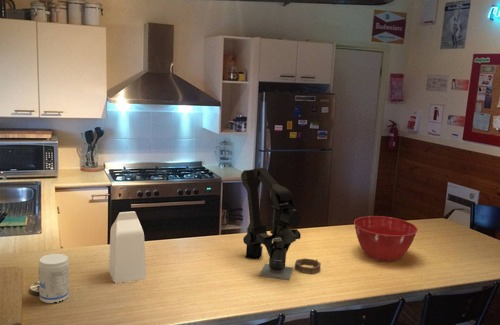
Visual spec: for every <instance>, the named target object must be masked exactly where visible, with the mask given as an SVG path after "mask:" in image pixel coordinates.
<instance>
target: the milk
mask: <svg viewBox="0 0 500 325" xmlns="http://www.w3.org/2000/svg"><path fill="white" fill-rule="evenodd" d="M145 247H146V244H145V234H144V229H143V227H142V225H141V222H140V220H139V218H138V215H137V212H136V211H122V212H121V211H120V212H119V213H118V215H117V217H116V218H115V221H114V222H113V223H112V225H111V227H110V237H109V256H108V257H109V260H108V274H109V273H110V274H109V276H110V275H111V276H110V278H111V277H112V278H113V279H112V278H111V279H112V281H113V280H114V281H113V283H114V282H115V283H118V284H122V283H121V282H125V283H129V282H128V281H131V282H136V281H135V280H138V281H142V280H141V279H144V280H147V271H146V270H147V269H146V268H147V267H146V249H145ZM115 283H114V284H115Z"/></svg>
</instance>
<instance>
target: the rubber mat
mask: <svg viewBox="0 0 500 325" xmlns="http://www.w3.org/2000/svg"><path fill="white" fill-rule="evenodd" d="M293 270H294V267H292V266H286V265H285V268H284V269H283V270H279V271H278V270H272V269H270V268H269V263H265V264H264V265H263V267H262V270H261V271H260V273H259V276H260V277H264V278H270V279H278V280H279V279H280V280H287V281H290V278H291V275H292V273H293Z"/></svg>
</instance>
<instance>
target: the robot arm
mask: <svg viewBox="0 0 500 325" xmlns="http://www.w3.org/2000/svg"><path fill="white" fill-rule="evenodd" d="M240 178H241V183H242V185H243V187H244V188H245V190H246V193H247V194H246V195H247V206H248V213H249V224H248V227H247V228H246V232H247V233H246V234H245V235H244V236H243V239H242V240H243V244H244V245H246V250H245V251H246V252H245V256H244V258H246V259H251V260H252V259H253V260H260V259H261V257H262V256H263V246H262V245H264V246H265V249H266V251H267V254H268V257H270V258H272V251H273V246H274V245H275V244H274V243H273V240H274V239H282V240H283V242H284V243H285V245H284V246H285V247H286V249H287V250H286V254H287V253H288V250H289V248H290V246H291V245H292V243H294V242H296V241H297V240H301V238H302V237H301V235H302V234H301V232H300V230H299V229H297V227H299V225H300V223H301V220H302V218H301V215H300V213H298V210H297V209H295V208H296V205H295V204H296V203H295V200H294V199H293V195H292V192H291V191H290V190H289V189H288V188H287V187H286V186H282V185H280V184H279V183H278V182H277V181H276V179H274V177H272V175H271V174H270V172H268V170H267V168H266V167H264V166H263V167H256V168H253V169H244V170H243V171H242V172H241V174H240ZM261 184H262V185H263V186H264V187H265V189H266V190H267V191H268V192H269V199H271V202H272V203H273V204H271V206H270V207H272V208H273V215H272V220H271V221H270V223H271V225H272V229H271V230H270V232H269V233H270V234H268V231H267V225H266V224H264V223H263V222H262V216H261V208H260V198H259V187H260V185H261Z"/></svg>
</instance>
